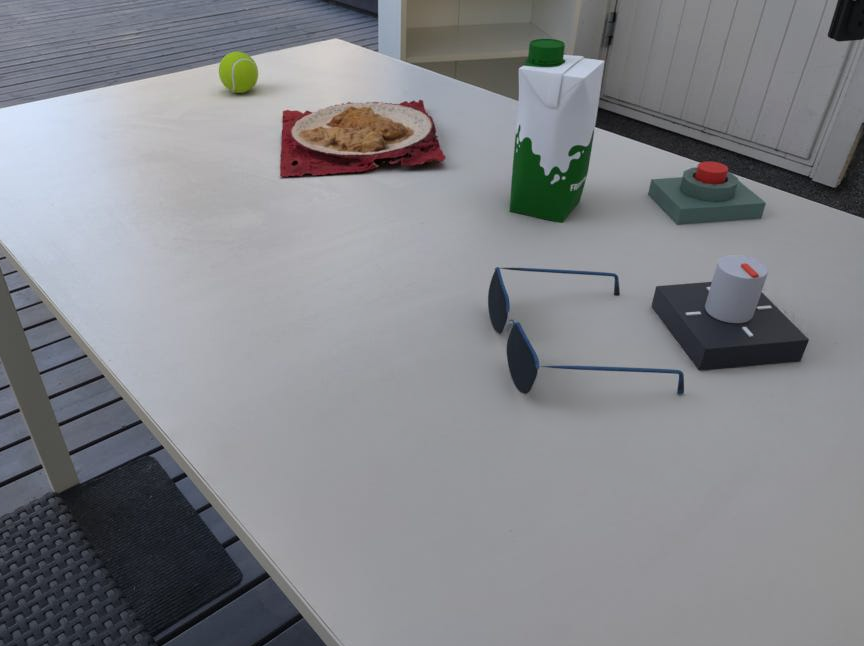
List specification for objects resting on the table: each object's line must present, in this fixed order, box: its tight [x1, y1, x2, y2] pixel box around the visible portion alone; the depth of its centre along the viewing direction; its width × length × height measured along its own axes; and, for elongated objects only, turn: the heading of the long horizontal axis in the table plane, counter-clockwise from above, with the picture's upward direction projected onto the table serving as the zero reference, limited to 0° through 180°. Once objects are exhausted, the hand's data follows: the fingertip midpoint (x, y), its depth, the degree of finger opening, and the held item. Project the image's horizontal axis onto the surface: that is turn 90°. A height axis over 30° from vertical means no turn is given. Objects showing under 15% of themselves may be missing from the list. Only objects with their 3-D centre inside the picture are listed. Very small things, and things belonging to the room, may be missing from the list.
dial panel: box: [650, 281, 810, 371], centre depth 73 cm, size 10×11×3 cm
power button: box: [695, 161, 729, 184], centre depth 93 cm, size 4×4×2 cm
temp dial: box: [705, 254, 769, 323], centre depth 70 cm, size 4×4×5 cm
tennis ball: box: [218, 51, 259, 94], centre depth 134 cm, size 7×7×7 cm
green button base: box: [647, 166, 767, 226], centre depth 95 cm, size 11×9×4 cm
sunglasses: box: [487, 266, 685, 395], centre depth 71 cm, size 17×15×5 cm
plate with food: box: [279, 99, 447, 178], centre depth 115 cm, size 24×26×4 cm
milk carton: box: [509, 38, 606, 224], centre depth 91 cm, size 9×9×20 cm
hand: (845, 38), depth 78 cm, fingers closed
